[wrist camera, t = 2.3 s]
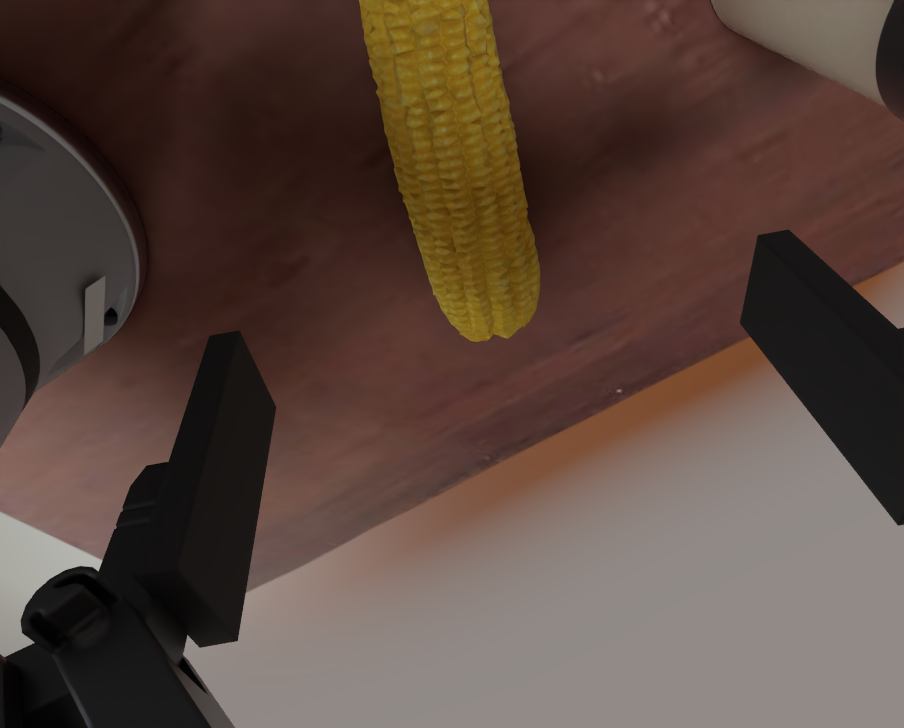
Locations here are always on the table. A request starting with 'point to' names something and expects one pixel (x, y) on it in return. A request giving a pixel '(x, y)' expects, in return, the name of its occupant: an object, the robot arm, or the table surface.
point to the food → (456, 158)
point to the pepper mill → (831, 40)
